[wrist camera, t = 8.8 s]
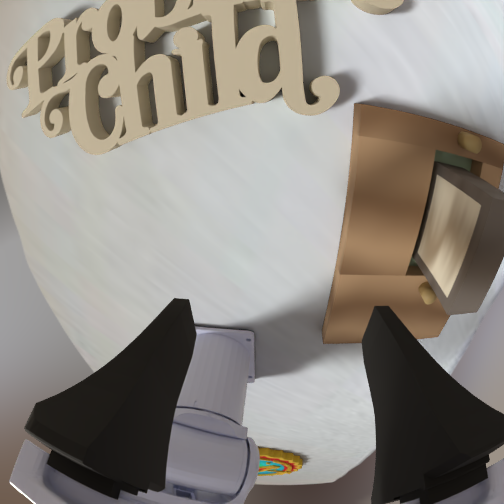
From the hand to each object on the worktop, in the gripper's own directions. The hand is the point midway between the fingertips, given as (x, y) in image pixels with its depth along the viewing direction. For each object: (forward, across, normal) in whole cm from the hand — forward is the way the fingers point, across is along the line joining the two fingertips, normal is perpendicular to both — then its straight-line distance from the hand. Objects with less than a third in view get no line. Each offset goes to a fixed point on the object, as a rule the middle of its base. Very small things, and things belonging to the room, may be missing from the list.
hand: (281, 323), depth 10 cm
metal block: (+10, -12, -1) cm, 16 cm away
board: (+10, -11, +2) cm, 15 cm away
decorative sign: (+11, +7, -13) cm, 18 cm away
